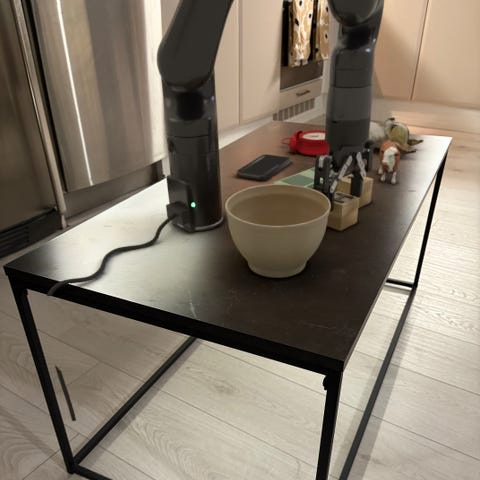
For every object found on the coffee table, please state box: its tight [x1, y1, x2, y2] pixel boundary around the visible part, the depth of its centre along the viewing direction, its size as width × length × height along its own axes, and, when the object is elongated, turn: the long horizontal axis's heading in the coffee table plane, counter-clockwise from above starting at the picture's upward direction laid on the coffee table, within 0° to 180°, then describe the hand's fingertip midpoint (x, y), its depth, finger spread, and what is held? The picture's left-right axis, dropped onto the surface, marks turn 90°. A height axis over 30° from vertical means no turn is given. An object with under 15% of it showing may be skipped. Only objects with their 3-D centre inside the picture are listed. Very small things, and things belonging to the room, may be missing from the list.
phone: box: [236, 153, 291, 182], centre depth 122 cm, size 8×1×15 cm
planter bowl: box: [224, 183, 331, 279], centre depth 80 cm, size 16×16×11 cm
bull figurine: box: [377, 140, 402, 184], centre depth 113 cm, size 4×13×8 cm, turn 166°
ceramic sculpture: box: [369, 117, 424, 156], centre depth 129 cm, size 11×9×15 cm
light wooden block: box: [326, 191, 359, 232], centre depth 95 cm, size 5×5×5 cm
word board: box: [271, 166, 351, 189], centre depth 116 cm, size 20×7×1 cm, turn 133°
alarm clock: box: [280, 129, 329, 156], centre depth 133 cm, size 10×6×15 cm
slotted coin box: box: [336, 173, 374, 209], centre depth 103 cm, size 5×5×5 cm
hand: (341, 203), depth 95 cm, fingers open, 8 cm apart
